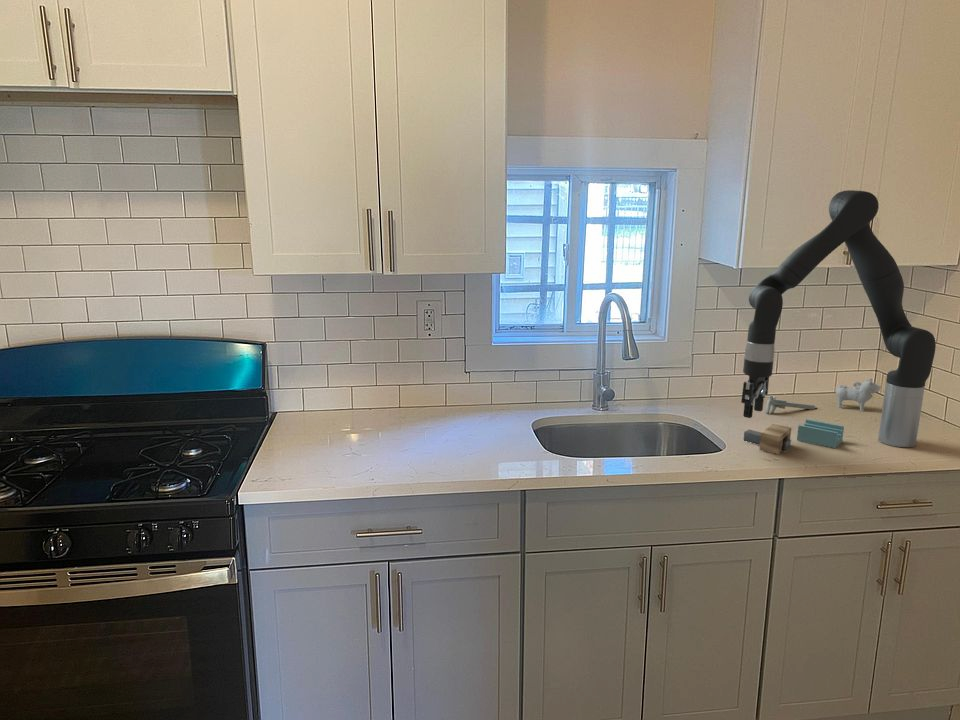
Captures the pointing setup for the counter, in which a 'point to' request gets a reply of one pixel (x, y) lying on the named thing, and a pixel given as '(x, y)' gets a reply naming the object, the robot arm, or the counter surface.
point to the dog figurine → (857, 393)
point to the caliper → (784, 405)
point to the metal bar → (755, 437)
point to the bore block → (774, 438)
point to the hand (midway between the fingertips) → (753, 413)
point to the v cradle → (820, 433)
